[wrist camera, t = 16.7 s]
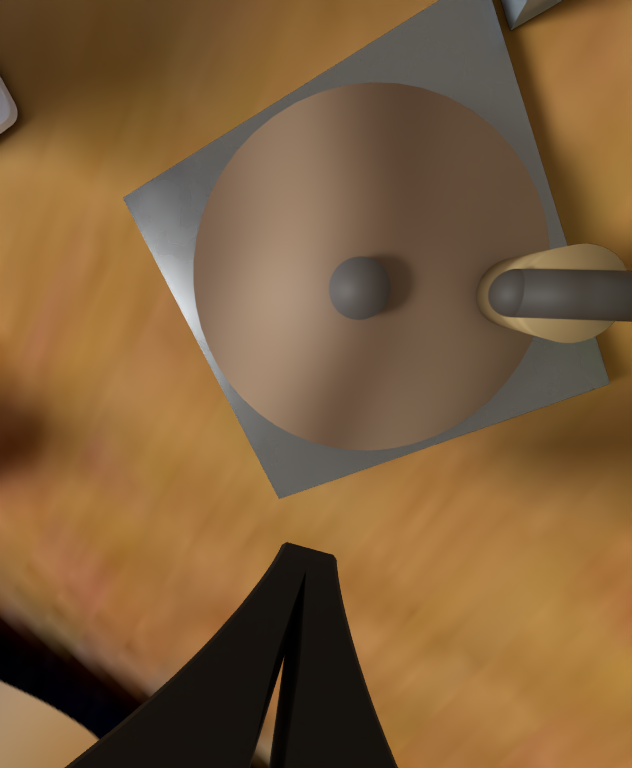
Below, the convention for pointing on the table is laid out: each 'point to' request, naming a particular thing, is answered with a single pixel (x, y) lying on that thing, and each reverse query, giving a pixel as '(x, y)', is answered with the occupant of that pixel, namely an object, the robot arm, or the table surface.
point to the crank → (385, 268)
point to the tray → (524, 10)
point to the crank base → (383, 65)
